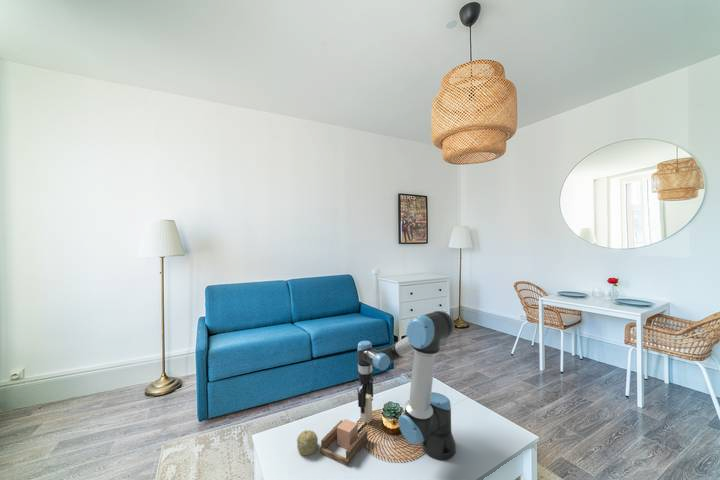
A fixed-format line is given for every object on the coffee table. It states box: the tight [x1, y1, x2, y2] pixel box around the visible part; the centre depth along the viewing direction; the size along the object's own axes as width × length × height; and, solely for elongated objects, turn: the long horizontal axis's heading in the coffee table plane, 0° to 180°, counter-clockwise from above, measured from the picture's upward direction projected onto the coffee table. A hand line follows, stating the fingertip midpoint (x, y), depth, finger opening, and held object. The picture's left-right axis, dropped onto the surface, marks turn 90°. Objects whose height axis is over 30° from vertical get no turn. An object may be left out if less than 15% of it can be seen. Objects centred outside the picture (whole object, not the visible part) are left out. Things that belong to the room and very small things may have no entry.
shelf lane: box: [319, 419, 368, 467], centre depth 129 cm, size 15×17×5 cm
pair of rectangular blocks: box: [336, 394, 373, 450], centre depth 138 cm, size 7×24×13 cm, turn 149°
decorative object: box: [296, 429, 319, 457], centre depth 128 cm, size 9×10×10 cm
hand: (366, 415), depth 147 cm, fingers closed on pair of rectangular blocks, 4 cm apart
